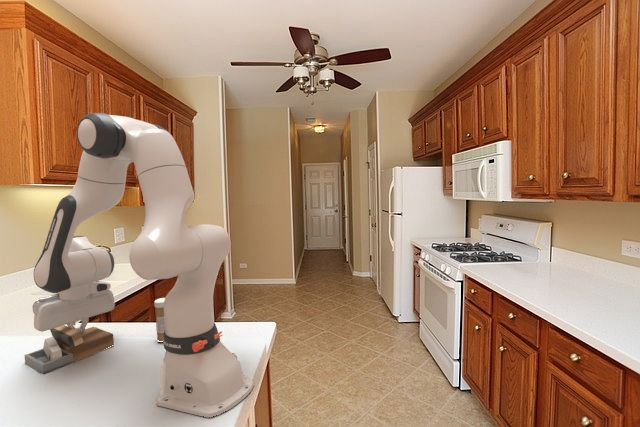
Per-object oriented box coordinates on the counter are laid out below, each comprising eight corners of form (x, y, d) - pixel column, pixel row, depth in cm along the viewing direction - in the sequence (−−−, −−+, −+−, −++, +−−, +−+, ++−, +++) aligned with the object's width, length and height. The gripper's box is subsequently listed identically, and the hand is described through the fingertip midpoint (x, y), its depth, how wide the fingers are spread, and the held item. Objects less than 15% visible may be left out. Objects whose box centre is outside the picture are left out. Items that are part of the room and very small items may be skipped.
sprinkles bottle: (160, 337, 109) (157, 297, 108) (174, 336, 109) (172, 296, 108) (154, 344, 104) (151, 302, 103) (169, 343, 105) (167, 301, 104)
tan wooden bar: (83, 342, 97) (79, 331, 96) (72, 348, 94) (68, 337, 93) (65, 333, 103) (61, 323, 102) (53, 339, 100) (49, 329, 99)
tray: (73, 362, 94) (72, 353, 94) (43, 374, 88) (42, 365, 88) (54, 352, 100) (53, 344, 100) (25, 363, 94) (24, 355, 94)
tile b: (59, 345, 96) (50, 348, 94) (56, 355, 98) (48, 358, 96) (53, 336, 98) (44, 339, 96) (51, 346, 99) (42, 348, 97)
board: (113, 346, 104) (112, 333, 103) (73, 362, 94) (72, 348, 94) (94, 338, 110) (93, 326, 110) (54, 352, 100) (53, 340, 100)
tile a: (61, 349, 92) (52, 352, 91) (62, 363, 93) (53, 366, 91) (58, 345, 95) (49, 348, 94) (59, 358, 95) (50, 361, 94)
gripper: (36, 301, 89) (41, 351, 90) (115, 282, 107) (118, 324, 108) (27, 298, 93) (31, 346, 94) (105, 280, 110) (108, 320, 111)
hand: (78, 334), depth 101 cm, fingers closed
